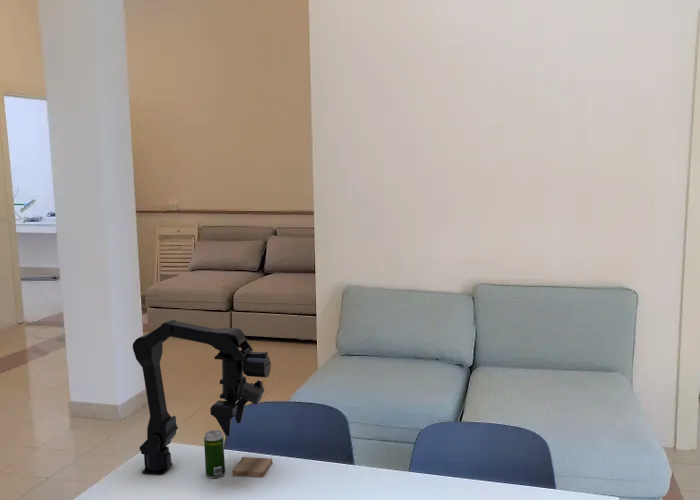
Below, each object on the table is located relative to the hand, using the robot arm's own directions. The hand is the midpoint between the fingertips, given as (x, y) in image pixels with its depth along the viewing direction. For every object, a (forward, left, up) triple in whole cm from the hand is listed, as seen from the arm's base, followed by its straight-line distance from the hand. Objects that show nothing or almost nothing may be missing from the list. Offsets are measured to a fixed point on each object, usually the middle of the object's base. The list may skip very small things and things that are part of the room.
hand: (233, 429), depth 179 cm
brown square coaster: (+4, +4, -14) cm, 15 cm away
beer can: (-6, -1, -14) cm, 15 cm away
